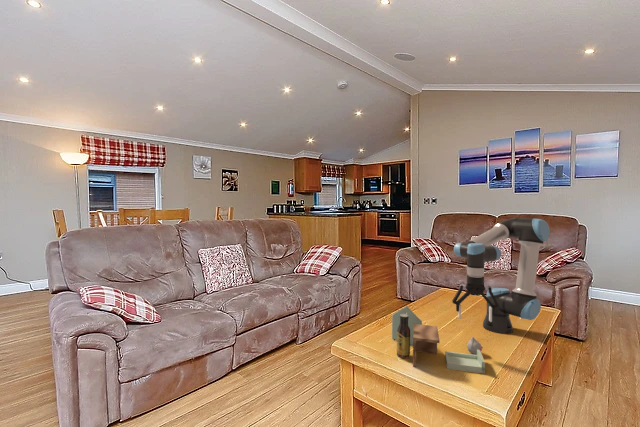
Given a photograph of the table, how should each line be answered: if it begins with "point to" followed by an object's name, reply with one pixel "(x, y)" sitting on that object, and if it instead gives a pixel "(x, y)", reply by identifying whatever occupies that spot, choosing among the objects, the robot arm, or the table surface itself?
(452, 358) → the tray
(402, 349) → the sauce bottle
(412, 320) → the grey piece
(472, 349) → the figurine
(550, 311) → the table surface
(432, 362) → the table surface
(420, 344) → the wooden open box
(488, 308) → the robot arm
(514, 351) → the table surface
